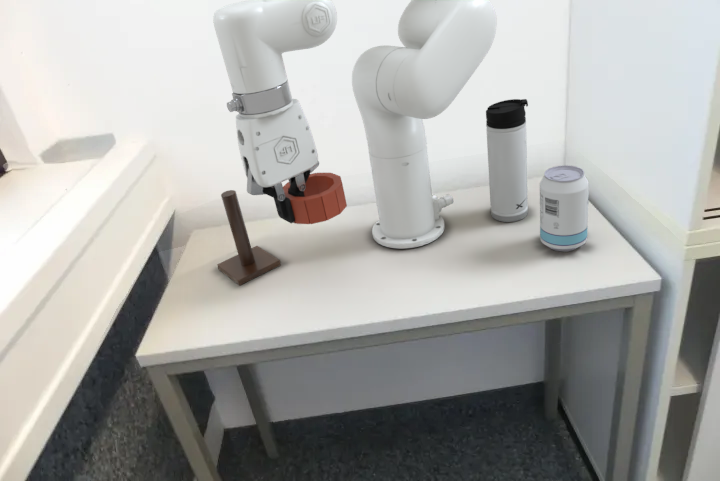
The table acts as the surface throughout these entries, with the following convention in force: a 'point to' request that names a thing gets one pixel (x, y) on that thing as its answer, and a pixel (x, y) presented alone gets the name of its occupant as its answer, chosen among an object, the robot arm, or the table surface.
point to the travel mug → (507, 159)
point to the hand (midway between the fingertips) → (294, 216)
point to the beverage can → (564, 208)
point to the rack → (243, 247)
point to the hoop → (318, 199)
